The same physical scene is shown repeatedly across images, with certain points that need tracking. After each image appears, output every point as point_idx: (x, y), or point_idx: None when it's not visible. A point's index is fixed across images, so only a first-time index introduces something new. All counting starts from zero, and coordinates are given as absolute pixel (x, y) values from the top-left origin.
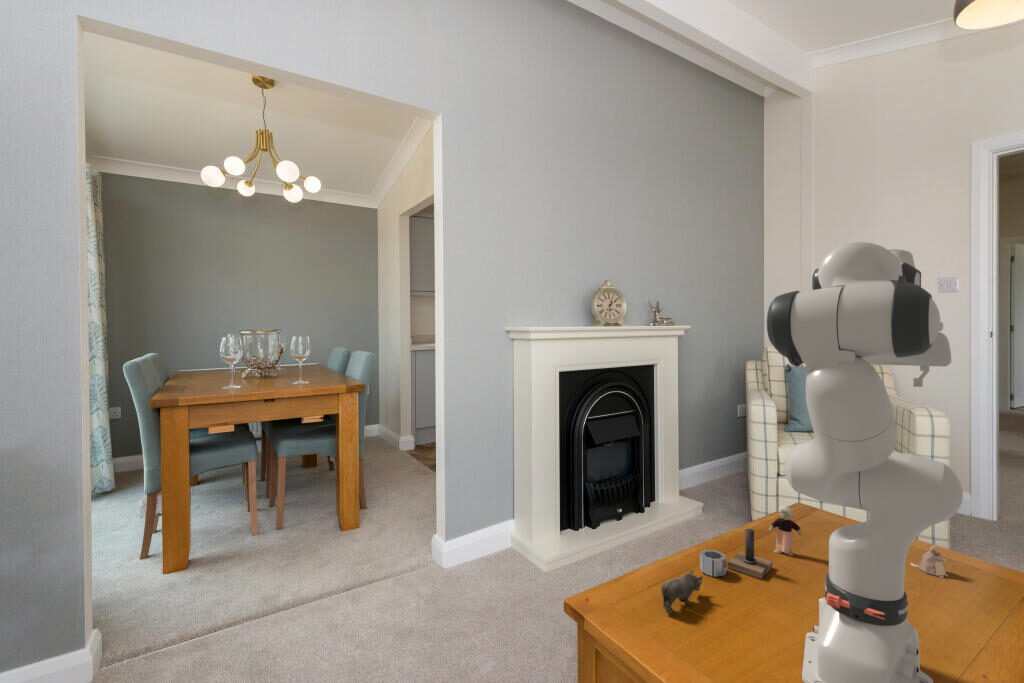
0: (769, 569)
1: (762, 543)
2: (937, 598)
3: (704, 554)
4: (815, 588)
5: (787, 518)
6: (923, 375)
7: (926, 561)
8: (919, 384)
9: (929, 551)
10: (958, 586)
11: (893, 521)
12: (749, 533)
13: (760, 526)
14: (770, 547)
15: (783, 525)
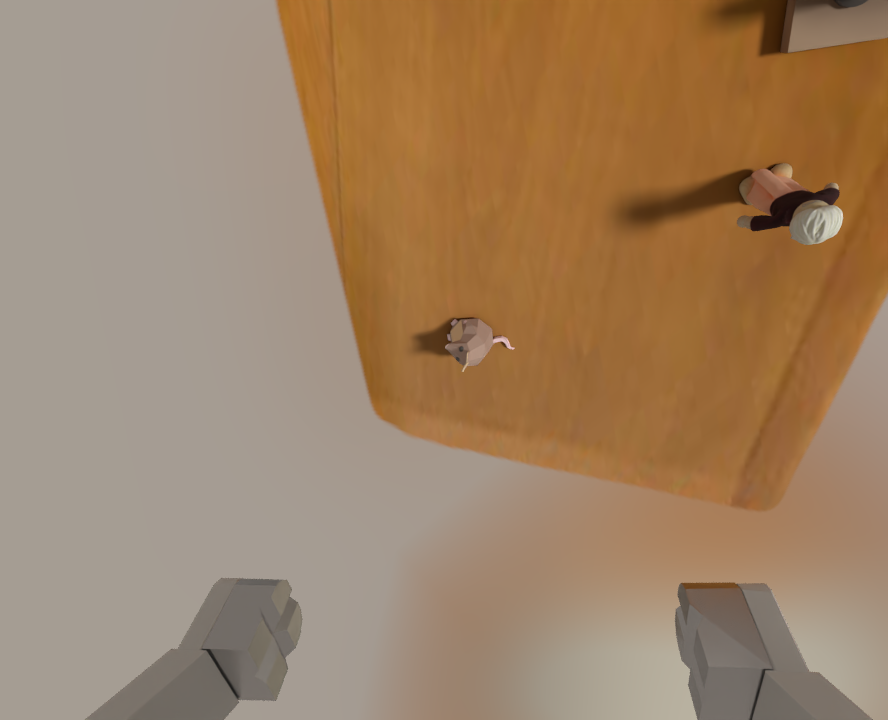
0: (785, 22)
1: None
2: (438, 215)
3: None
4: (652, 25)
5: (800, 205)
6: (136, 685)
7: (476, 332)
8: (226, 591)
9: (472, 355)
10: (425, 305)
11: None
12: None
13: (853, 318)
14: None
15: (801, 195)
